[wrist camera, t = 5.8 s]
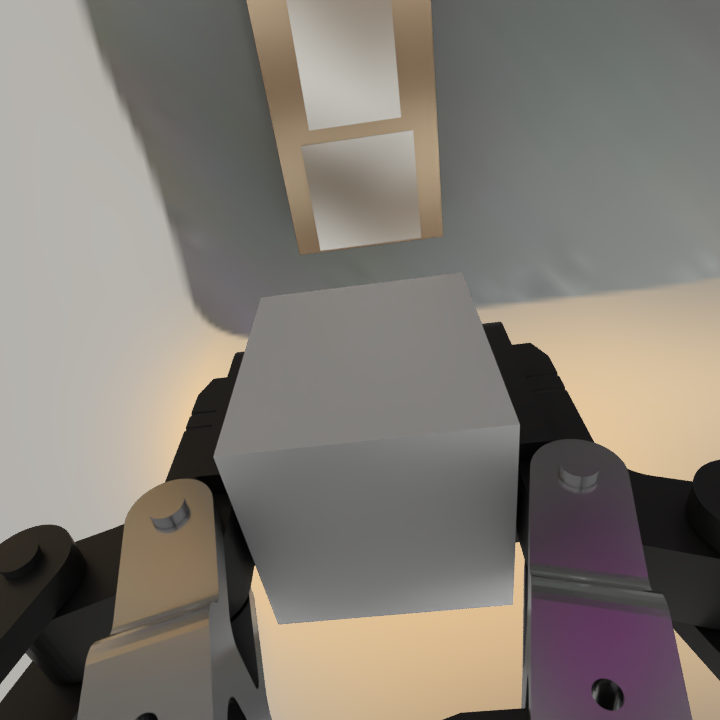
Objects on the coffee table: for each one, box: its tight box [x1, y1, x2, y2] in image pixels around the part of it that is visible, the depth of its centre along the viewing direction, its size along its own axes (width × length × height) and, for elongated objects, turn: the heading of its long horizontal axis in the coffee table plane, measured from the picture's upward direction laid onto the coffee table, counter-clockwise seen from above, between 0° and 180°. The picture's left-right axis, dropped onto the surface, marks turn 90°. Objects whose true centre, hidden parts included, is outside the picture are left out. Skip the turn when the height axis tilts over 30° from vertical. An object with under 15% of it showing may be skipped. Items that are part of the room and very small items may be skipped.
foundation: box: [246, 0, 443, 255], centre depth 20 cm, size 14×6×3 cm, turn 8°
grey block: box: [213, 272, 520, 624], centre depth 10 cm, size 4×4×4 cm
